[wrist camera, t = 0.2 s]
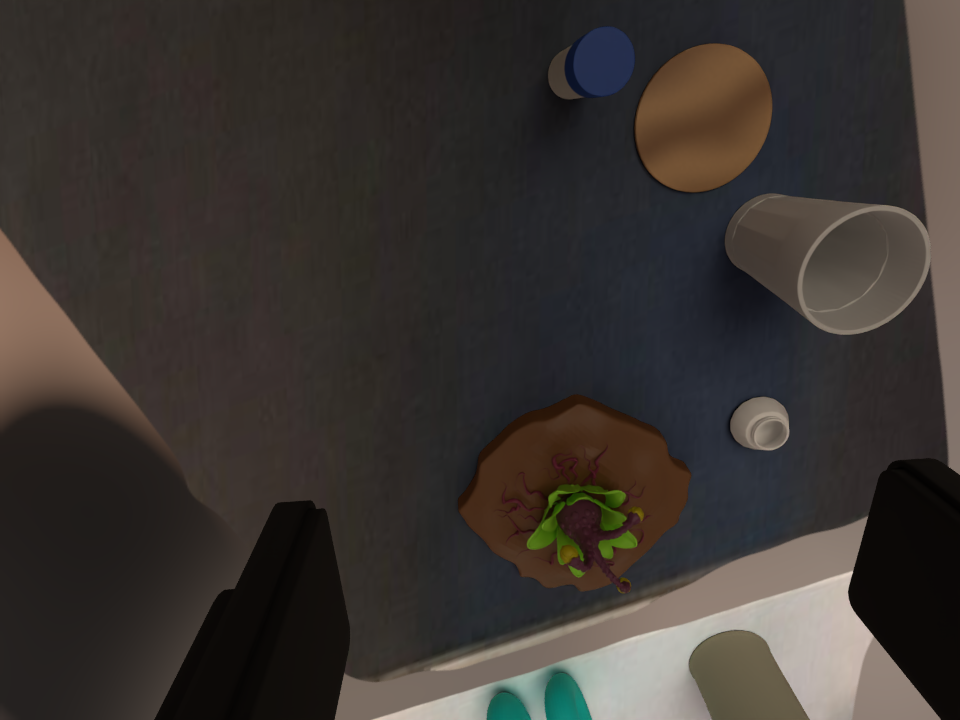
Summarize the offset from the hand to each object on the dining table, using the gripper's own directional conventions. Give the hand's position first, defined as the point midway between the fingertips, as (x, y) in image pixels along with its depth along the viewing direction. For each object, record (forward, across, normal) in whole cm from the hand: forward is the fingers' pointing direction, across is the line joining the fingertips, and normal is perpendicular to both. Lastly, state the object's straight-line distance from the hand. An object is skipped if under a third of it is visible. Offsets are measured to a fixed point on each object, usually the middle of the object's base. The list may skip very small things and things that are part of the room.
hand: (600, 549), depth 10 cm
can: (+37, -25, +52) cm, 69 cm away
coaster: (+37, -16, -6) cm, 41 cm away
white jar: (+37, -24, +20) cm, 48 cm away
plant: (+38, -7, +27) cm, 47 cm away
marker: (+37, -6, -9) cm, 38 cm away
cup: (+37, -22, +3) cm, 43 cm away
